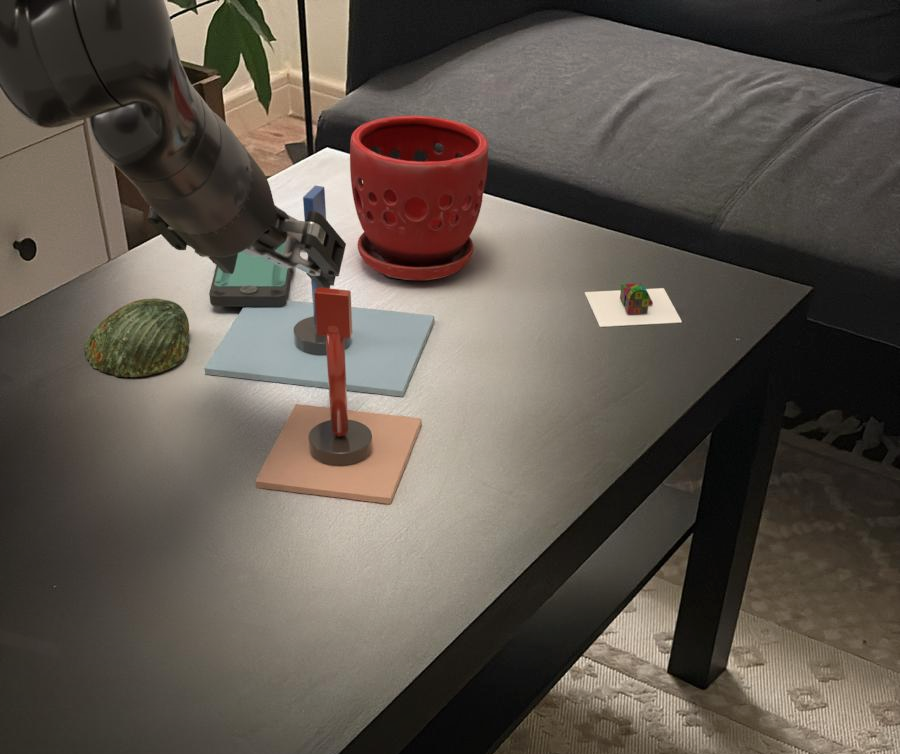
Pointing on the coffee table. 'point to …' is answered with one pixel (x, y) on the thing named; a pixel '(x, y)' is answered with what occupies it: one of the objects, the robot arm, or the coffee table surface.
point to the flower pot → (417, 194)
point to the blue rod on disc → (313, 289)
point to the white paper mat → (632, 306)
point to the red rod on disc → (337, 386)
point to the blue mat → (367, 358)
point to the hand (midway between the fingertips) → (279, 270)
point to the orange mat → (358, 481)
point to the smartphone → (251, 283)
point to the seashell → (140, 339)
